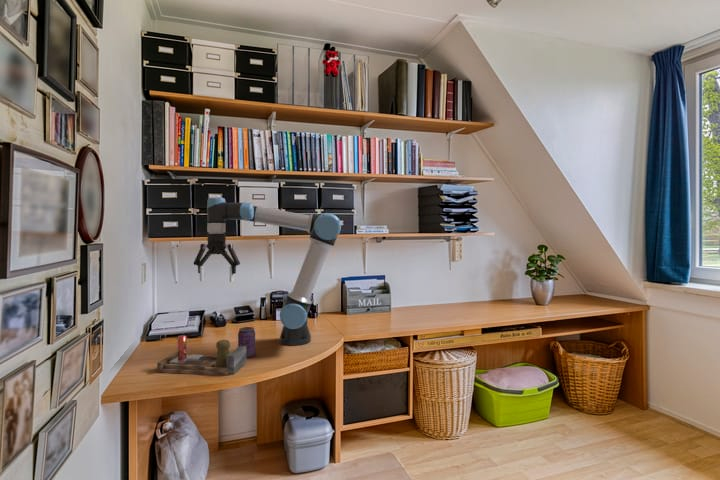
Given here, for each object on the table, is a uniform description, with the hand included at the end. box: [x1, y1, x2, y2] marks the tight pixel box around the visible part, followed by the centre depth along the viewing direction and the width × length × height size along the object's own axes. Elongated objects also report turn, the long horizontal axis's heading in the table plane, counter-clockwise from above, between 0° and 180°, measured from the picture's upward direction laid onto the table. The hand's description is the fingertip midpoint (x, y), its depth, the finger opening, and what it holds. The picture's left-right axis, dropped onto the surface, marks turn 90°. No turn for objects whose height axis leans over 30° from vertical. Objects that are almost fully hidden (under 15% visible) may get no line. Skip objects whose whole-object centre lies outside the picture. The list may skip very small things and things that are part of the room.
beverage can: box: [237, 326, 256, 359], centre depth 164 cm, size 7×7×12 cm
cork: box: [215, 339, 231, 368], centre depth 151 cm, size 6×6×11 cm
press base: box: [156, 346, 247, 376], centre depth 151 cm, size 30×14×7 cm, turn 85°
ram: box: [169, 334, 205, 365], centre depth 152 cm, size 11×8×11 cm
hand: (217, 281), depth 169 cm, fingers open, 13 cm apart
